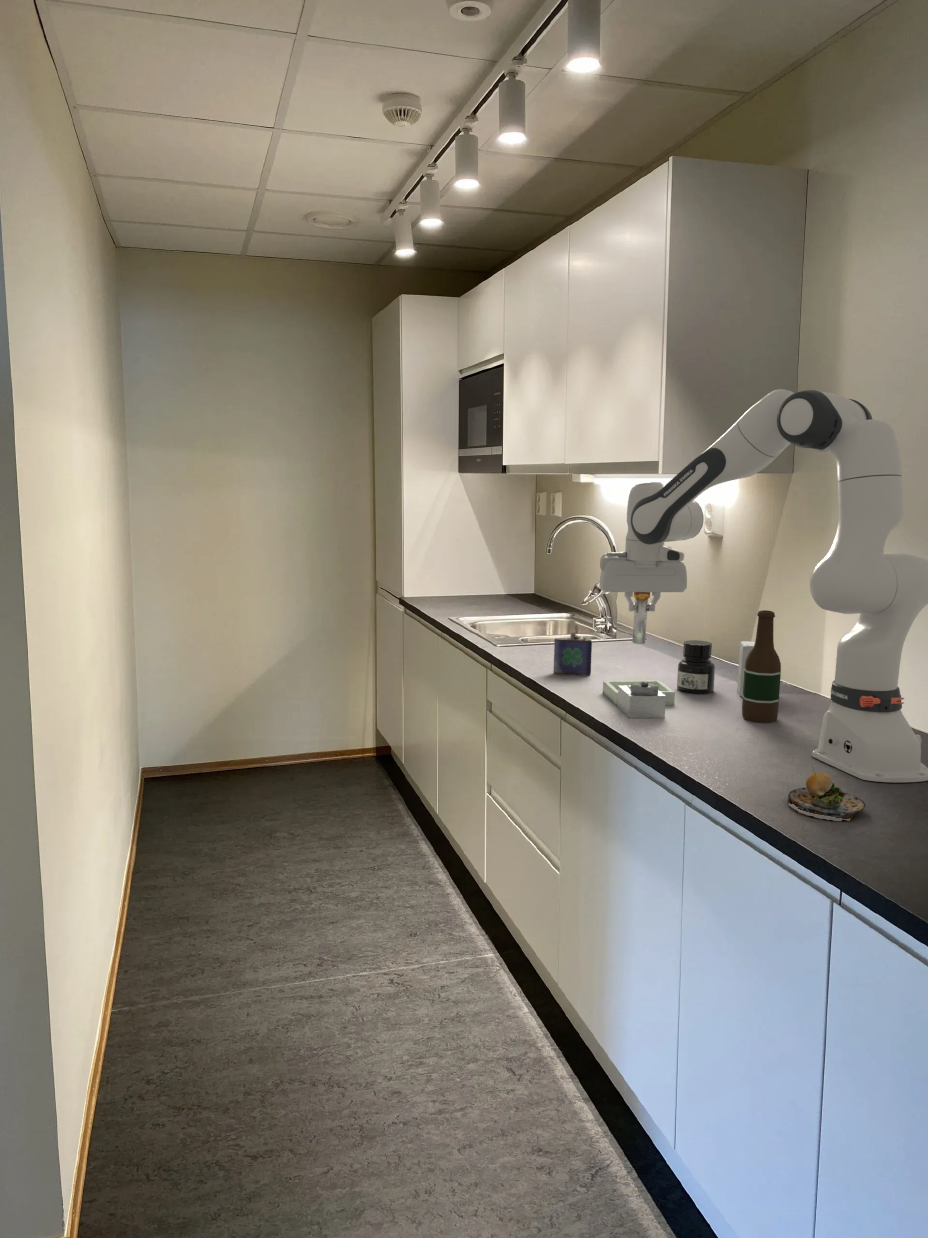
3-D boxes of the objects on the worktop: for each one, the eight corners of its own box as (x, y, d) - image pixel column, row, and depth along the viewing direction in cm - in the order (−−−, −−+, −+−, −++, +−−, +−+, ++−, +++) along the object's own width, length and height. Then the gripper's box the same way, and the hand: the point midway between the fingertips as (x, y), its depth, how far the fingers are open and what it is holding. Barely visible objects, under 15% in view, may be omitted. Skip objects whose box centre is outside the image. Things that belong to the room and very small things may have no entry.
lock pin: (648, 644, 219) (652, 593, 217) (633, 644, 219) (636, 593, 216) (644, 640, 223) (647, 590, 220) (628, 640, 223) (631, 590, 220)
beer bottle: (753, 724, 201) (760, 614, 197) (734, 715, 208) (740, 609, 204) (785, 722, 203) (792, 613, 199) (764, 713, 210) (771, 608, 207)
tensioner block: (665, 718, 205) (666, 685, 204) (629, 718, 204) (630, 685, 203) (651, 706, 215) (652, 675, 214) (617, 706, 214) (618, 675, 213)
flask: (552, 674, 247) (554, 631, 245) (553, 672, 250) (555, 629, 248) (590, 676, 245) (592, 633, 243) (591, 674, 248) (592, 631, 246)
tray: (674, 704, 217) (674, 692, 216) (615, 705, 215) (616, 692, 215) (658, 692, 229) (659, 680, 228) (602, 692, 227) (603, 680, 227)
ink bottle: (668, 689, 232) (670, 642, 230) (687, 684, 238) (690, 637, 236) (703, 696, 225) (706, 647, 223) (721, 690, 231) (724, 643, 229)
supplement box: (771, 699, 224) (774, 647, 222) (739, 697, 225) (742, 645, 223) (767, 691, 231) (771, 641, 229) (736, 690, 232) (739, 640, 230)
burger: (865, 827, 144) (869, 781, 143) (785, 816, 148) (788, 771, 147) (863, 803, 155) (867, 759, 154) (788, 792, 159) (792, 750, 158)
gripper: (604, 553, 212) (601, 613, 214) (691, 553, 214) (687, 613, 217) (597, 550, 218) (595, 609, 221) (681, 551, 221) (678, 609, 223)
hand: (641, 611), depth 219 cm, fingers closed on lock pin, 3 cm apart
